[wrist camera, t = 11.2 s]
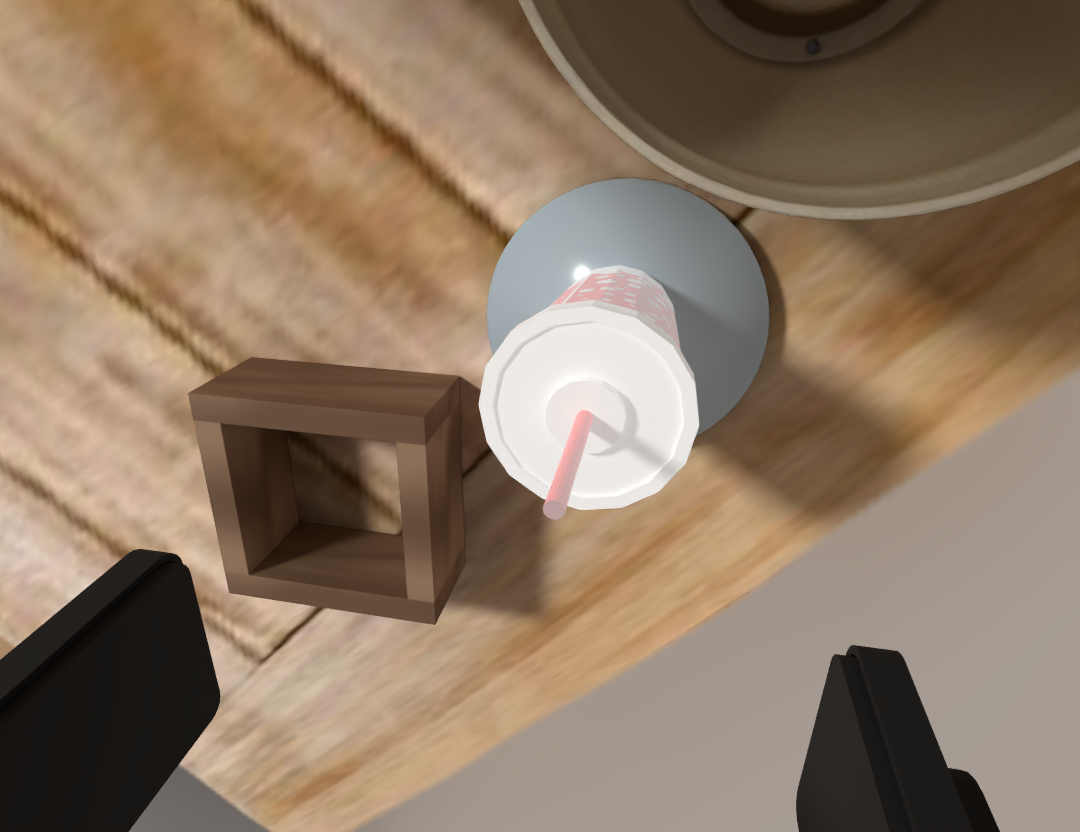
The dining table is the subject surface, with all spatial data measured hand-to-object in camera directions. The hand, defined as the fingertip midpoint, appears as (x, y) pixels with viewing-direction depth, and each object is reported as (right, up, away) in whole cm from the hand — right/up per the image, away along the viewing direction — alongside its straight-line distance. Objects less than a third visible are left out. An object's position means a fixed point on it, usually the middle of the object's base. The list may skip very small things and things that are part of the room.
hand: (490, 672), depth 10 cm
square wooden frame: (-8, +1, +23) cm, 24 cm away
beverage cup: (+4, +7, +17) cm, 19 cm away
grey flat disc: (+4, +7, +18) cm, 20 cm away
